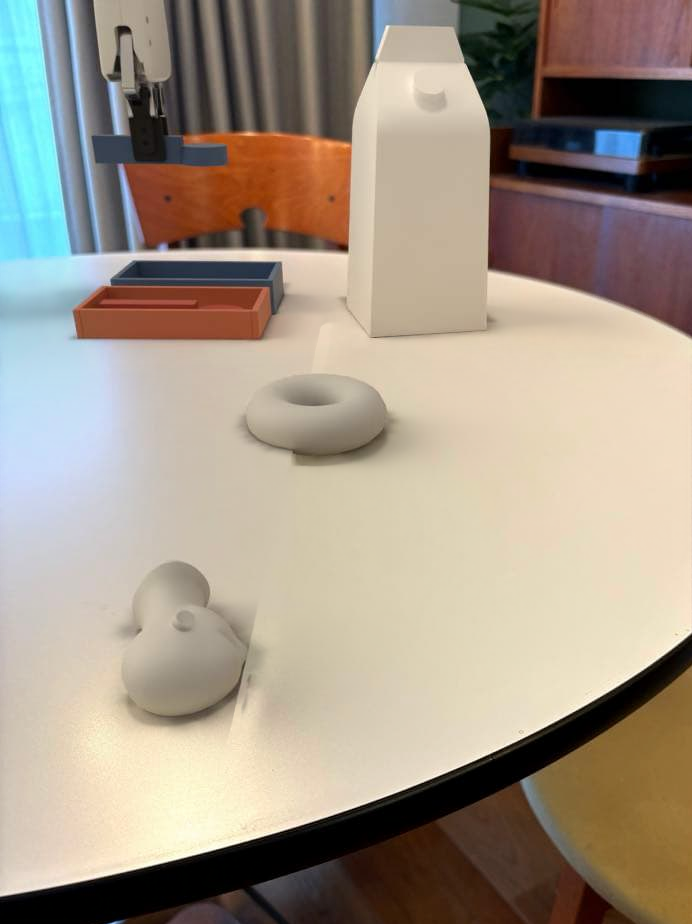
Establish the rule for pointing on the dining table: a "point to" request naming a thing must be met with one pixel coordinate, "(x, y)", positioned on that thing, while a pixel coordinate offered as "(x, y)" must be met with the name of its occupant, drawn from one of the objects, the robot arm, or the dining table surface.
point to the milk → (419, 190)
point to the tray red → (175, 313)
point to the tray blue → (205, 275)
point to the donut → (316, 413)
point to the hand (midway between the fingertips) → (153, 159)
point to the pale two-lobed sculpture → (179, 644)
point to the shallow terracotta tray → (160, 304)
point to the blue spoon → (177, 152)
